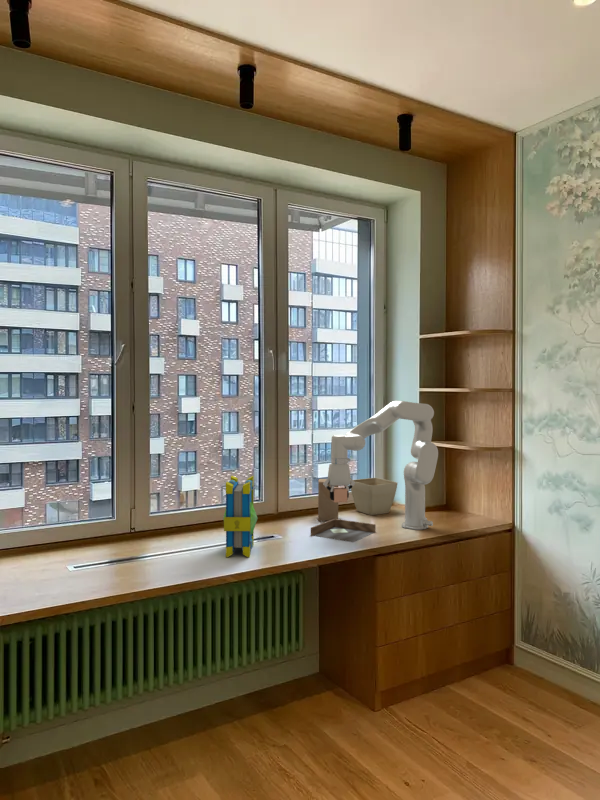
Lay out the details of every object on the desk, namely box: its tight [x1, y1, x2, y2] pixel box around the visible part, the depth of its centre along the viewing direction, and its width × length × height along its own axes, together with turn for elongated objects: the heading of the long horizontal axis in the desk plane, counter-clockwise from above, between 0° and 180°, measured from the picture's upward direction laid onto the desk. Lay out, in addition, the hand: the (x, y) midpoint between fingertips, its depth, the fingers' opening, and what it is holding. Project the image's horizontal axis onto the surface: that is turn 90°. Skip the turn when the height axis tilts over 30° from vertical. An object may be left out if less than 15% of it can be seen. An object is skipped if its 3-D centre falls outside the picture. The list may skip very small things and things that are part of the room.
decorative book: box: [222, 475, 259, 558], centre depth 255 cm, size 14×23×30 cm, turn 0°
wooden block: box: [317, 478, 339, 522], centre depth 315 cm, size 10×10×20 cm
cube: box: [332, 486, 348, 503], centre depth 287 cm, size 6×6×6 cm
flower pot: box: [350, 477, 398, 516], centre depth 332 cm, size 19×19×17 cm
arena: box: [310, 518, 377, 543], centre depth 283 cm, size 22×22×4 cm
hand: (339, 499), depth 287 cm, fingers closed on cube, 6 cm apart
